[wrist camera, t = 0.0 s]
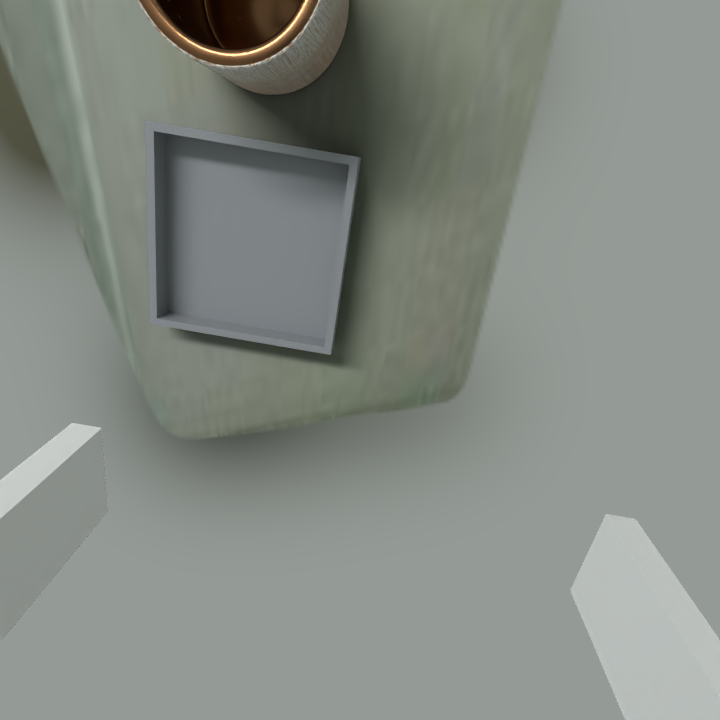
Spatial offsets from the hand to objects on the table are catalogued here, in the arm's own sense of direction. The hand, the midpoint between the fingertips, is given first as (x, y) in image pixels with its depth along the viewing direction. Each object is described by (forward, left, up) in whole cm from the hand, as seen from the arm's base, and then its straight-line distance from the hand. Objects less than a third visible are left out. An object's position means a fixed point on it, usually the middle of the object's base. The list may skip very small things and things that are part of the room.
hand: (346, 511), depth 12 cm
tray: (-1, -10, -28) cm, 30 cm away
